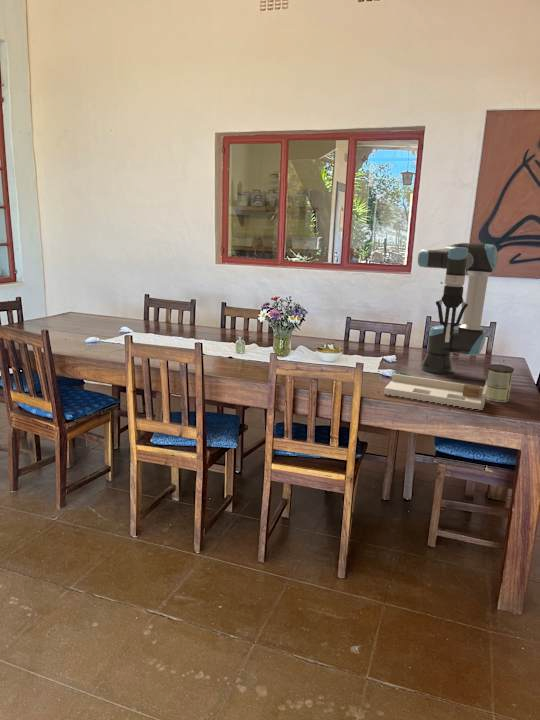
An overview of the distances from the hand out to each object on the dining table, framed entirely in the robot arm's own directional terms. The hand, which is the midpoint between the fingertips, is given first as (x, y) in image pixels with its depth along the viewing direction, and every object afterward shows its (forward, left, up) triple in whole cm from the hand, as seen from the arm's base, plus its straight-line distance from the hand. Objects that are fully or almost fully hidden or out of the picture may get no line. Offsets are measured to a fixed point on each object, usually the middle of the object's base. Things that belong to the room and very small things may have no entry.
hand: (447, 341), depth 220 cm
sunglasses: (-13, -17, -25) cm, 33 cm away
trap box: (+3, -2, -24) cm, 25 cm away
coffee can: (-11, +22, -25) cm, 35 cm away
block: (+1, +12, -21) cm, 25 cm away
